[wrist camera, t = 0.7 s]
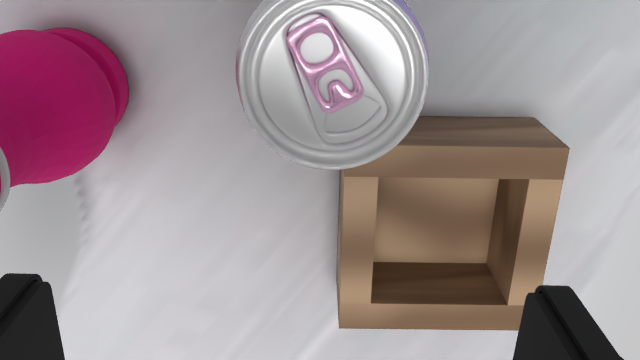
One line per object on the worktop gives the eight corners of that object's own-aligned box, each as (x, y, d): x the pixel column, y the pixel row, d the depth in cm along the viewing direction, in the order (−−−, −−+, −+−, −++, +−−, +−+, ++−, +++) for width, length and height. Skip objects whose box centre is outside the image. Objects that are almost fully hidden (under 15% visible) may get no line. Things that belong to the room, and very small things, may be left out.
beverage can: (352, -68, 29) (384, -68, 15) (400, 40, 31) (465, 125, 17) (249, -12, 30) (191, 35, 16) (302, 88, 32) (290, 206, 18)
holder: (341, 114, 33) (345, 144, 28) (534, 117, 33) (569, 148, 28) (336, 279, 37) (338, 328, 32) (506, 281, 37) (533, 330, 33)
